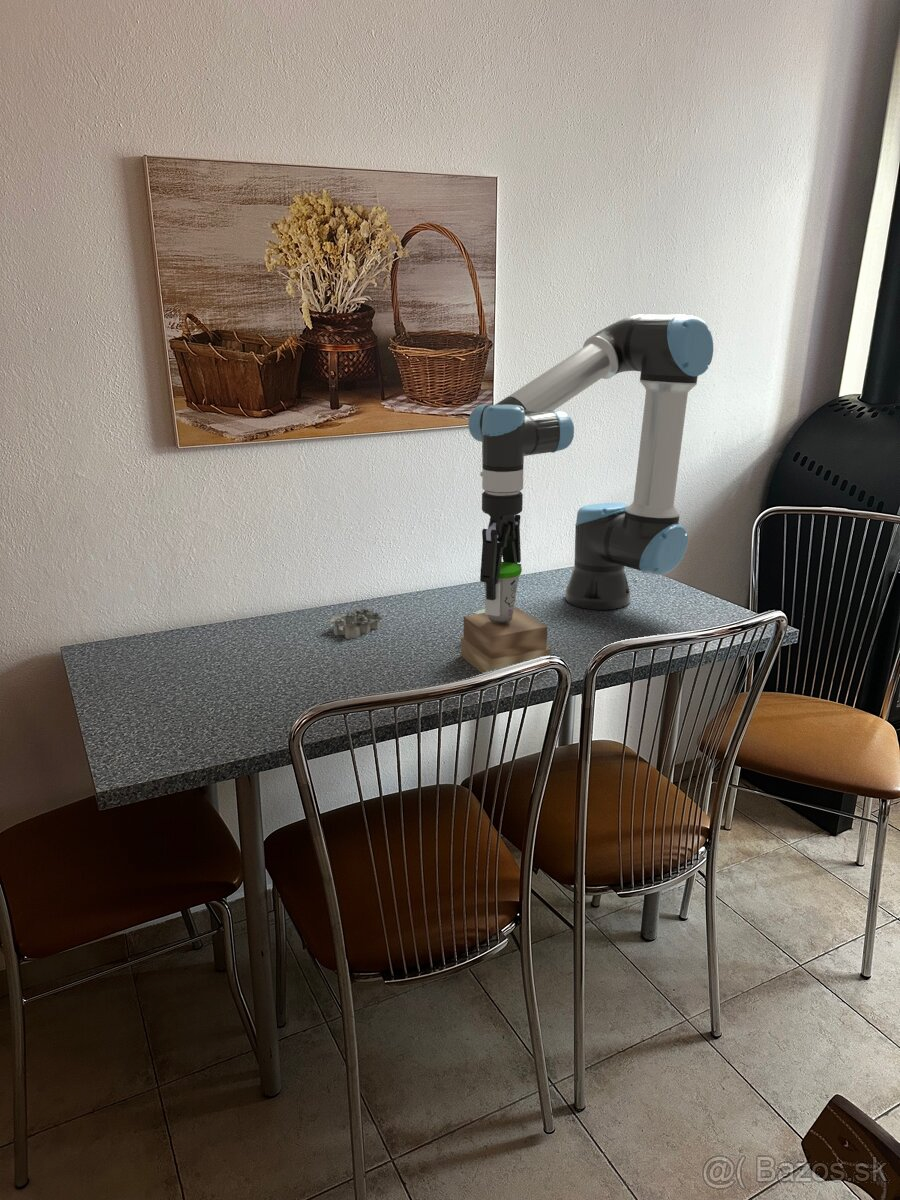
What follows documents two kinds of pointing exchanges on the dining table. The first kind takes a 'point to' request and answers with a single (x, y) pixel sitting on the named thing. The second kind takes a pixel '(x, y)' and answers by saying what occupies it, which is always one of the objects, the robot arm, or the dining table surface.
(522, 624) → the tower top
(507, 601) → the cup
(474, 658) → the block
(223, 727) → the dining table surface
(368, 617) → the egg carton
